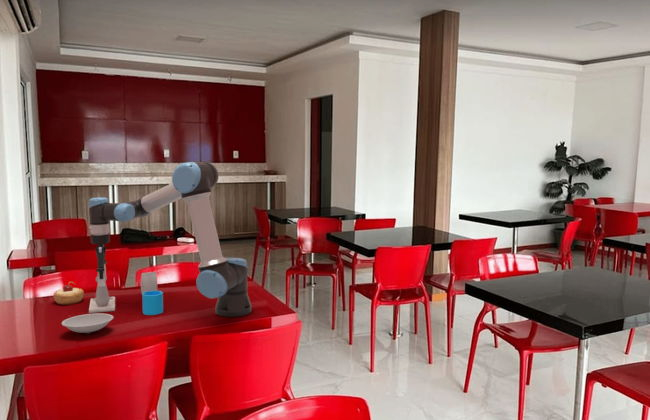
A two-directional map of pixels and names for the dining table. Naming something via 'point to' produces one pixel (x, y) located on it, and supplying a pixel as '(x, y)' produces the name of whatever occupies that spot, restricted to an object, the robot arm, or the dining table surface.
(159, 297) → the mug
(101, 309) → the tray
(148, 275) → the tea bag
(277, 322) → the dining table surface
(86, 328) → the dish
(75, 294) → the pastry
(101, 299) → the salt shaker
